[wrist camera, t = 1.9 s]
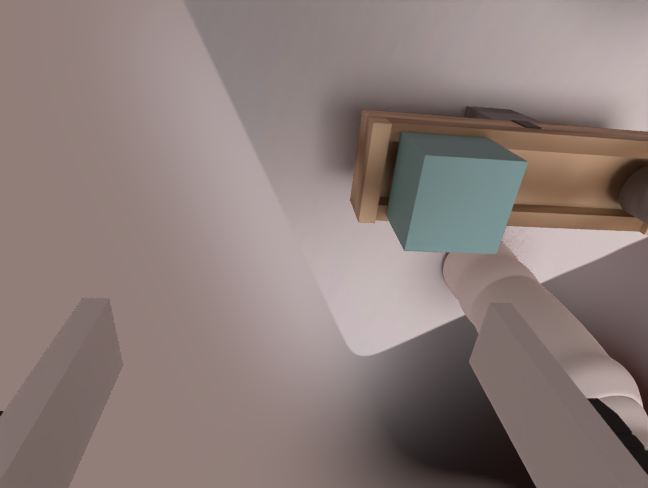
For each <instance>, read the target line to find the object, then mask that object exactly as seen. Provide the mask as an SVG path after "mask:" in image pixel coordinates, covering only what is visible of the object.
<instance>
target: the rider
mask: <svg viewBox="0 0 648 488" xmlns="http://www.w3.org/2000/svg"><path fill="white" fill-rule="evenodd" d="M527 164H528V161H526V160H524V159H523V158H521V157H519V156H518V155H516V154H514V153H513V152H511V151H509V150H508V149H506V148H504V147H503V146H501V145H500V144H498V143H496V142H495V141H493V140H491V139H490V138H482V137H468V136H454V135H440V134H426V133H412V132H401V137H400V143H399V148H398V153H397V159H396V164H395V170H394V175H393V181H392V186H391V192H390V197H389V202H388V208H387V213H386V216H387V218H388V220H389V222H390V224H391V226H392V228H393V230H394V232H395V234H396V236H397V237H398V239H399V241H400V243H401V245H402V247H403V249H404V251H423V252H453V253H483V254H497V251H498V248H499V245H500V242H501V239H502V236H503V234H504V231H505V228H506V225H507V222H508V219H509V216H510V213H511V210H512V208H513V205H514V202H515V199H516V196H517V193H518V190H519V187H520V184H521V182H522V179H523V176H524V173H525V170H526V167H527Z"/></svg>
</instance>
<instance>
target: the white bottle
mask: <svg viewBox="0 0 648 488" xmlns="http://www.w3.org/2000/svg"><path fill="white" fill-rule="evenodd" d="M443 276H444V280H445V282H446V284H447V286H448V287H449V289H450V290H451V292H452V293H453V294H454V296H455V297H456V298H457V299H458V301H459V303H460V306H461V308H462V309H463V311H464V313H465V314H466V316H467V317H468V318H469V320H470V321H471V322H472V323H473V324H474V325H475V327H476V329H477V331H478V334H479V332H480V329H481V326H482V323H483V321H484V318H485V315H486V312H487V309H488V306H489V304H490V303H512V305H513V306H514V307H515V309H516V310H517V311H518V312H519V314H520V315H521V316H522V317H523V319H524V320H525V321H526V322H527V324H528V325H529V326H530V327H531V329H532V330H533V331H534V332H535V334H536V335H537V336H538V338H539V339H540V340H541V341H542V343H543V344H544V345H545V346H546V348H547V349H548V350H549V351H550V353H551V354H552V355H553V356H554V358H555V359H556V360H557V362H558V363H559V364H560V365H561V367H562V368H563V369H564V370H565V372H566V373H567V374H568V375H569V377H570V378H571V379H572V380H573V382H574V383H575V384H576V385H577V387H578V388H579V389H580V391H581V392H582V393H583V394H584V396H585V397H586V398H598V399H599V400H600V401H602V402H603V403H604V404H605V405H607V406H608V407H609V408H611V409H612V410H613V411H614V412H616V413H617V414H618V415H619V416H620V418H621V419H622V420H623V421H624V422H625V424H626V425H627V426H628V427H629V428H630V430H631V431H632V434H633V435H635V436H636V437H637V438H638V439H639V440H640V442H641V443H642V444H643V445H644V446H645V447H644V448H645V450H648V417H647V415H646V413H645V411H644V409H643V404H642V400H641V397H640V393H639V390H638V387H637V385H636V383H635V381H634V379H633V378H632V376H631V375H630V374H629V372H628V371H627V370H626V369H625V368H624V367H623V366H622V365H621V364H619V363H618V362H617V361H615V360H613V359H611V358H610V357H609V356H608V354H607V353H606V352H605V351H604V349H603V348H602V347H601V346H600V344H599V343H598V342H597V341H596V340H595V339H594V337H593V336H592V335H591V334H590V333H589V332H588V331H587V329H586V328H585V327H584V326H583V325H582V324H581V323H580V322H579V321H578V320H577V319H576V318H575V317H574V316H573V315H572V314H571V312H570V311H569V310H568V309H567V308H566V307H565V306H564V305H563V304H561V303H560V301H558V300H557V299H556V298H555V297H554V296H553V295H552V294H551V293H550V292H549V291H548V290H546V289H545V288H544V287H543V286H542V285H540V284H539V282H538V280H537V279H536V277H535V276H534V275H533V273H532V272H531V271H530V270H529V269H528V268H527V267H526V266H525V265H523V264H522V263H521V262H519V261H518V259H517V258H516V256H515V255H514V254H513V253H512V251H511V250H510V249H509V248H508V247H507V246H506V245H505V244H504V243H503V242H502V241H501V242H500V245H499V248H498V251H497V254H483V253H453V252H450V253H449V254H448V256H447V258H446V260H445V262H444V266H443Z"/></svg>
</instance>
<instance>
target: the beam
mask: <svg viewBox="0 0 648 488" xmlns="http://www.w3.org/2000/svg"><path fill="white" fill-rule="evenodd" d="M401 132H412V133H426V134H440V135H454V136H468V137H482V138H490V139H491V140H493V141H495V142H496V143H498V144H500V145H501V146H503V147H504V148H506V149H508V150H509V151H511V152H513V153H514V154H516V155H518V156H519V157H521V158H523V159H524V160H526V161H528V164H527V167H526V170H525V173H524V176H523V179H522V182H521V184H520V187H519V190H518V193H517V196H516V199H515V202H514V205H513V208H512V210H511V213H510V216H509V219H508V222H507V225H506V226H522V227H546V228H569V229H592V230H616V231H639V232H641V233H643V234H645V235H648V132H644V131H631V130H618V129H606V128H593V127H580V126H567V125H554V124H543V123H541V122H538V121H536V120H534V119H531V118H529V117H527V116H524V115H522V114H519V113H517V112H515V111H512V110H505V109H493V108H481V107H469V106H467V109H466V113H465V117H451V116H438V115H425V114H412V113H400V112H387V111H374V110H362V115H361V123H360V130H359V138H358V145H357V153H356V160H355V168H354V175H353V183H352V190H351V198H350V201H351V204H352V206H353V209H354V212H355V214H356V217H357V220H358V222H359V223H375V220H382V221H389V220H388V218H387V216H386V213H387V208H388V202H389V197H390V192H391V186H392V181H393V175H394V170H395V164H396V159H397V153H398V148H399V143H400V137H401Z"/></svg>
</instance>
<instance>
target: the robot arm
mask: <svg viewBox="0 0 648 488" xmlns="http://www.w3.org/2000/svg"><path fill="white" fill-rule="evenodd" d="M469 363H470V365H471V367H472V368H473V370H474V372H475V374H476V376H477V378H478V380H479V382H480V383H481V385H482V387H483V389H484V391H485V393H486V395H487V396H488V398H489V400H490V402H491V404H492V406H493V408H494V409H495V411H496V413H497V415H498V417H499V419H500V421H501V422H502V424H503V426H504V428H505V430H506V432H507V434H508V435H509V437H510V439H511V441H512V443H513V445H514V447H515V448H516V450H517V452H518V454H519V456H520V458H521V459H522V461H523V463H524V465H525V467H526V469H527V471H528V473H529V474H530V476H531V478H532V480H533V482H534V484H535V486H536V487H537V488H648V450H645V448H644V447H645V446H644V445H643V444H642V443H641V442H640V440H639V439H638V438H637V437H636V436H635V435H633V434H632V431H631V430H630V428H629V427H628V426H627V425H626V424H625V422H624V421H623V420H622V419H621V418H620V416H619V415H618V414H617V413H616V412H614V411H613V410H612V409H611V408H609V407H608V406H607V405H605V404H604V403H603V402H602V401H600V400H599V399H598V398H586V397H585V396H584V394H583V393H582V392H581V391H580V389H579V388H578V387H577V385H576V384H575V383H574V382H573V380H572V379H571V378H570V377H569V375H568V374H567V373H566V372H565V370H564V369H563V368H562V367H561V365H560V364H559V363H558V362H557V360H556V359H555V358H554V356H553V355H552V354H551V353H550V351H549V350H548V349H547V348H546V346H545V345H544V344H543V343H542V341H541V340H540V339H539V338H538V336H537V335H536V334H535V332H534V331H533V330H532V329H531V327H530V326H529V325H528V324H527V322H526V321H525V320H524V319H523V317H522V316H521V315H520V314H519V312H518V311H517V310H516V309H515V307H514V306H513V305H512V303H490V304H489V306H488V309H487V312H486V315H485V318H484V321H483V323H482V326H481V329H480V332H479V335H478V338H477V341H476V343H475V346H474V349H473V352H472V355H471V358H470V360H469ZM122 367H123V360H122V356H121V351H120V346H119V342H118V337H117V333H116V328H115V323H114V318H113V314H112V309H111V305H110V300H109V299H108V298H82V299H81V301H80V302H79V304H78V305H77V306H76V308H75V309H74V311H73V312H72V314H71V315H70V317H69V318H68V319H67V321H66V322H65V324H64V325H63V327H62V328H61V330H60V331H59V332H58V334H57V335H56V337H55V338H54V340H53V341H52V343H51V344H50V345H49V347H48V348H47V350H46V351H45V353H44V354H43V356H42V357H41V358H40V360H39V361H38V363H37V364H36V366H35V367H34V369H33V370H32V371H31V373H30V374H29V376H28V377H27V379H26V380H25V382H24V383H23V385H22V386H21V387H20V389H19V390H18V392H17V393H16V395H15V396H14V397H13V399H12V400H11V402H10V403H9V405H8V406H7V408H6V409H5V410H4V411H0V488H69V485H70V483H71V481H72V479H73V477H74V474H75V472H76V470H77V468H78V465H79V463H80V461H81V459H82V456H83V454H84V452H85V450H86V447H87V445H88V443H89V441H90V439H91V436H92V434H93V432H94V430H95V427H96V425H97V423H98V421H99V418H100V416H101V414H102V412H103V409H104V407H105V404H106V403H107V400H108V398H109V396H110V394H111V391H112V389H113V387H114V385H115V382H116V380H117V378H118V375H119V373H120V371H121V369H122Z"/></svg>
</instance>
